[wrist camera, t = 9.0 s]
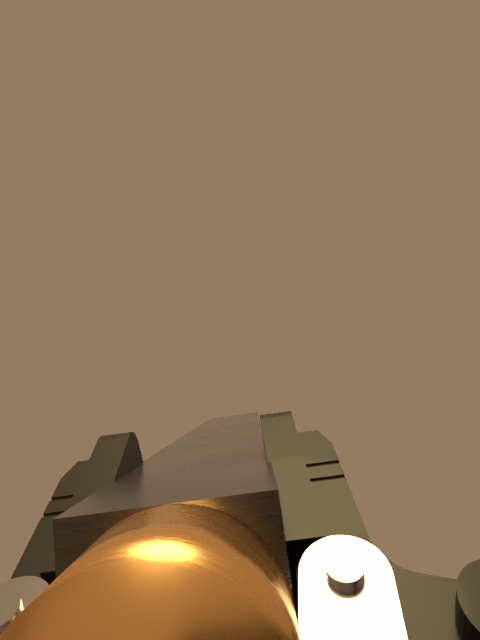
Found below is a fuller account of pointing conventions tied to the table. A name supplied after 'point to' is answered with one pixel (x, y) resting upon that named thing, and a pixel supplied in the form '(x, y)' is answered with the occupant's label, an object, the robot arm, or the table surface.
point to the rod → (174, 549)
